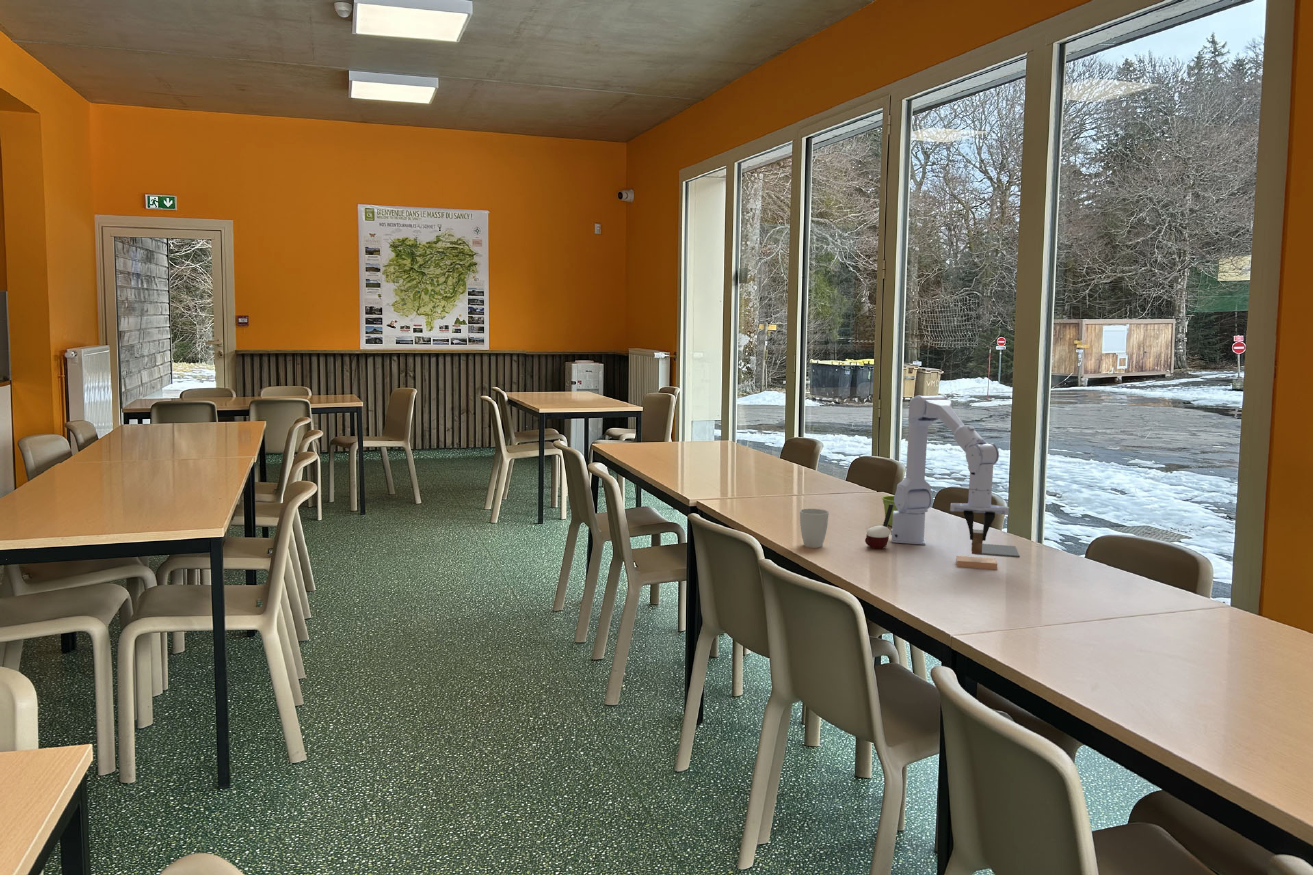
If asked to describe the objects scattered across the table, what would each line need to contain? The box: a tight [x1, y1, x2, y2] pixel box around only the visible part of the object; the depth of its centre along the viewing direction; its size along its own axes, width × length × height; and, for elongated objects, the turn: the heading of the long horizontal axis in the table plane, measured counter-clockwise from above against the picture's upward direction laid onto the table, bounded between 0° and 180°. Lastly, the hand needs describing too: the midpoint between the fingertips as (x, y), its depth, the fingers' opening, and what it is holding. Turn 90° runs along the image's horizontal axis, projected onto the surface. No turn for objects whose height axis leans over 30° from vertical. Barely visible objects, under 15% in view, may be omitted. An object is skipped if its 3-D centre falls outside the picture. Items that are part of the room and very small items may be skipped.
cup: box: [799, 508, 830, 549], centre depth 271 cm, size 8×8×10 cm
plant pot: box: [881, 495, 898, 527], centre depth 300 cm, size 9×9×9 cm
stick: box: [970, 528, 984, 555], centre depth 252 cm, size 2×2×6 cm
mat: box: [981, 543, 1020, 558], centre depth 269 cm, size 12×12×1 cm
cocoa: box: [864, 504, 893, 550], centre depth 270 cm, size 10×6×12 cm, turn 98°
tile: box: [955, 555, 998, 570], centre depth 252 cm, size 10×2×6 cm
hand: (977, 539), depth 251 cm, fingers closed on stick, 2 cm apart
